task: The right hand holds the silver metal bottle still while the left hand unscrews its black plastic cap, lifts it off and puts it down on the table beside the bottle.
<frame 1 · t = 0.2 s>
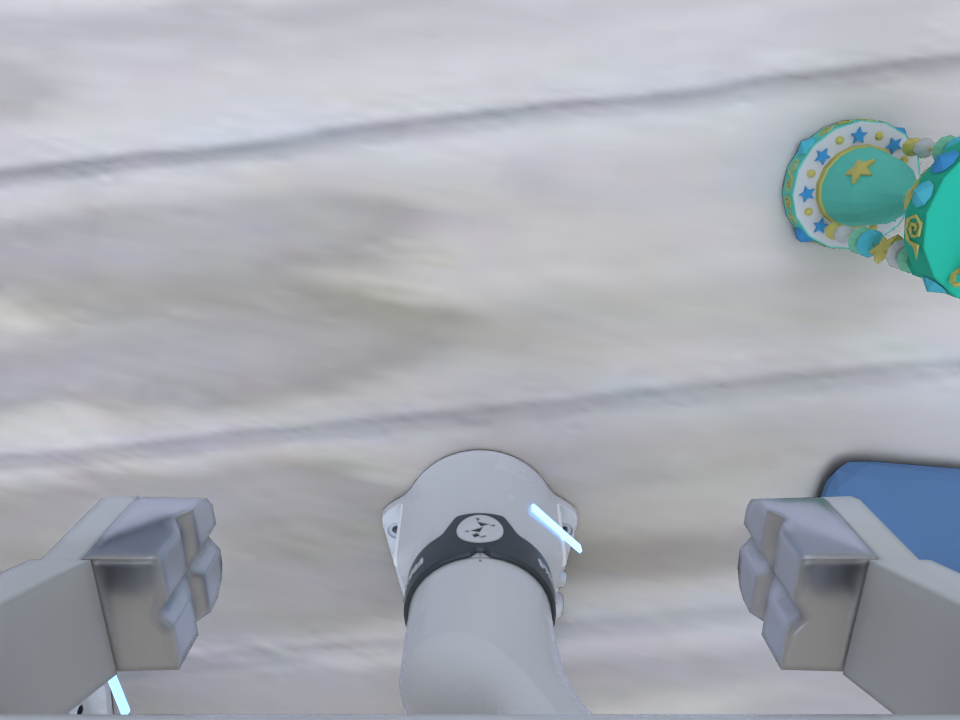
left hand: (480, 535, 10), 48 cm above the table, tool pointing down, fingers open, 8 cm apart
decorative hourglass: (842, 184, 55), on the table
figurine: (884, 549, 67), on the table
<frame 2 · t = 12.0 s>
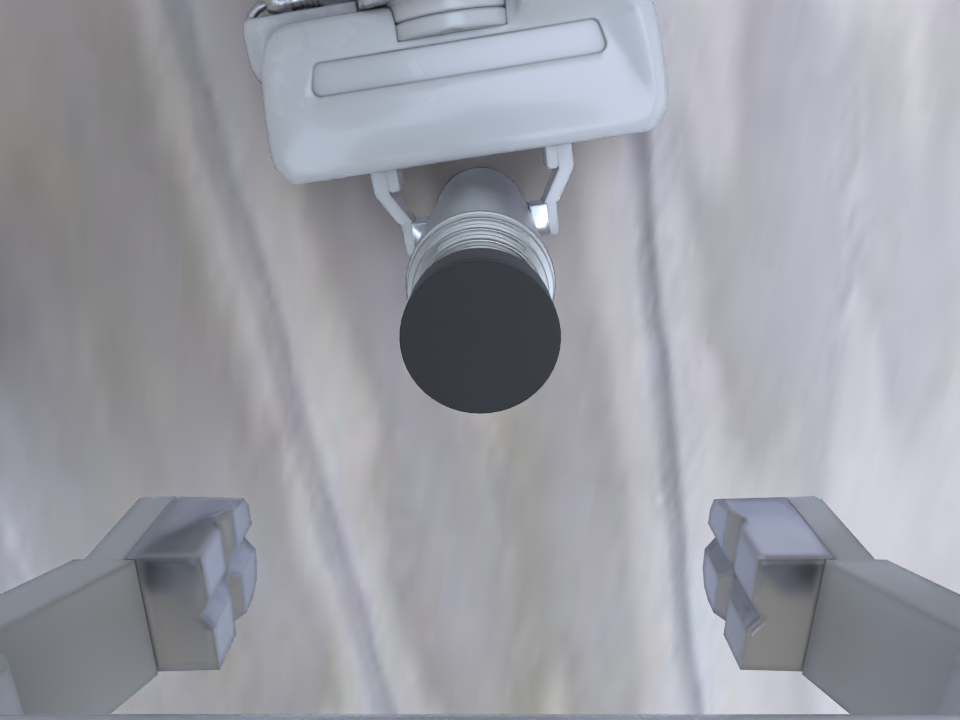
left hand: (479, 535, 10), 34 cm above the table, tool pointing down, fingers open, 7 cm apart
right hand: (483, 243, 38), fingers closed on bottle, 5 cm apart
cap: (480, 337, 19), point 25 cm above the table, screwed on, not yet turned
bottle: (480, 212, 43), on the table, touching right hand
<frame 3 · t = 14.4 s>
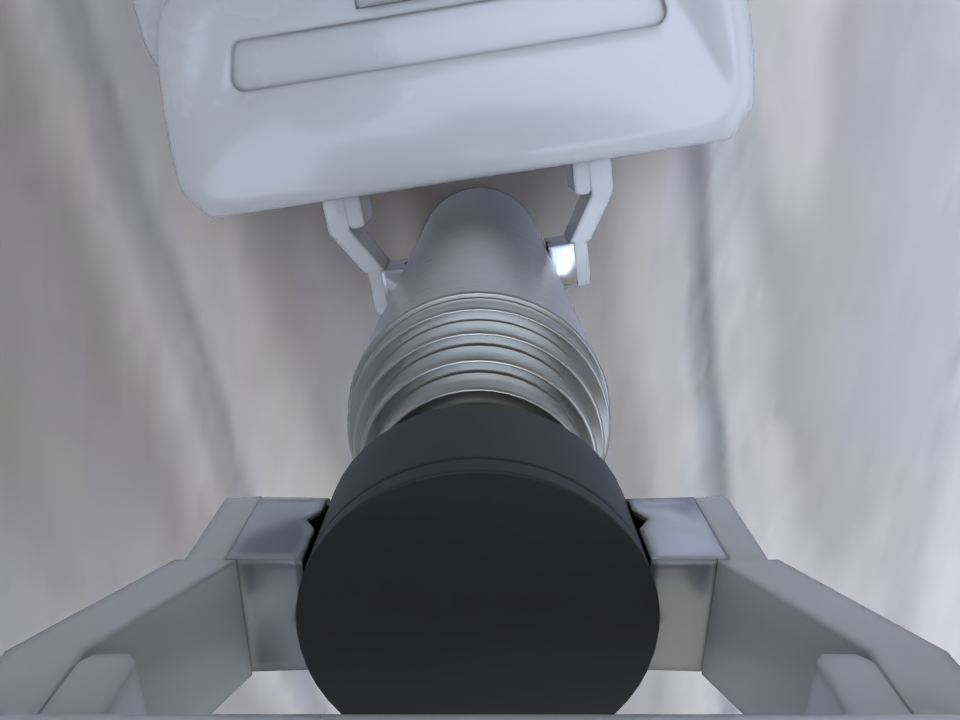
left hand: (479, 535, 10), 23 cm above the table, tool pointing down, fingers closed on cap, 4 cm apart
right hand: (484, 296, 27), fingers closed on bottle, 5 cm apart
cap: (477, 614, 9), point 25 cm above the table, screwed on, not yet turned, touching left hand
bottle: (480, 247, 32), on the table, touching right hand
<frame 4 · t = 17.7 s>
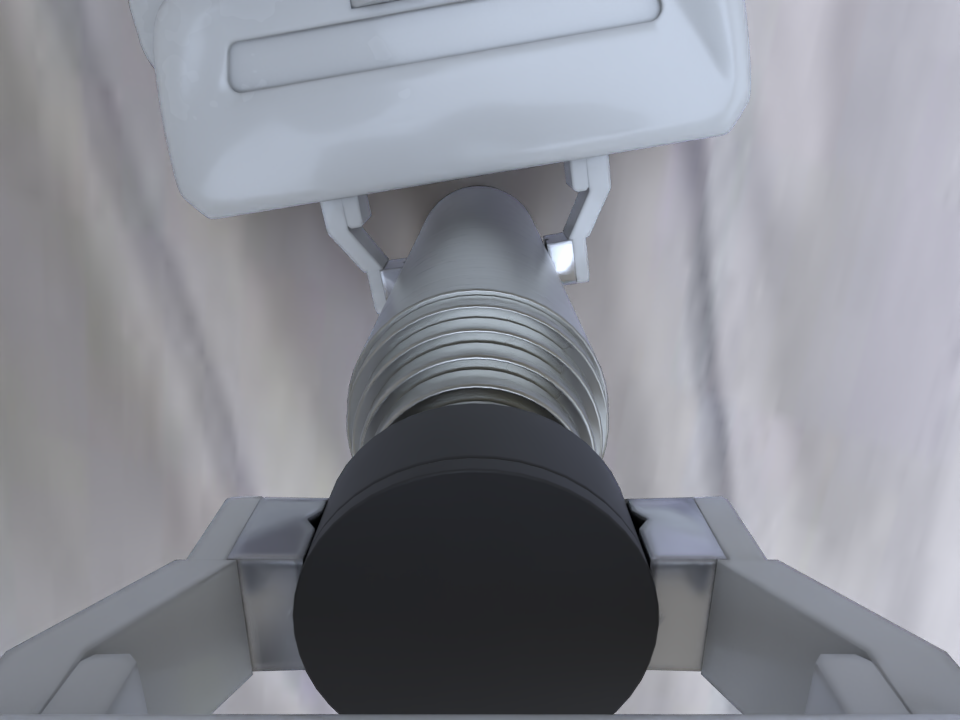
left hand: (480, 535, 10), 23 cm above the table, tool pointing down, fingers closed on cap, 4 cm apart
right hand: (483, 294, 27), fingers closed on bottle, 5 cm apart
cap: (476, 614, 9), point 25 cm above the table, turned 84° so far, risen 0.1 cm, still on its thread, touching left hand
bottle: (479, 246, 32), on the table, touching right hand
when the left hand's fingers open (2 cm above the table, at t = 38.9 s): cap drops 2 cm, point 2 cm above the table.
when the right hand's fingers open (6 cm above the table, at t = 40.1 s): bottle stays where it is, on the table.
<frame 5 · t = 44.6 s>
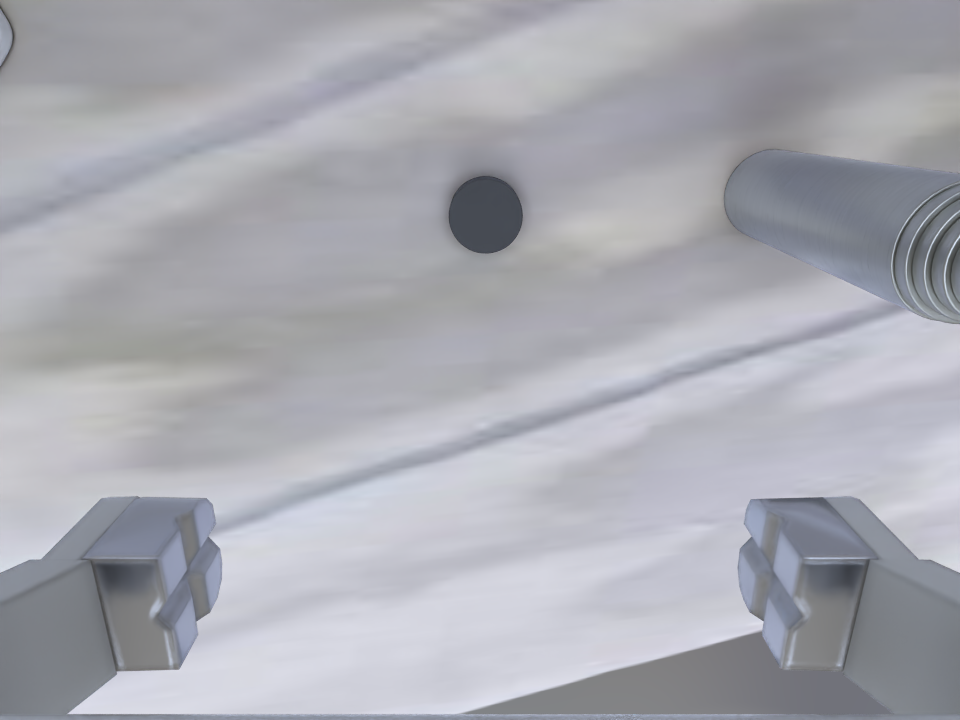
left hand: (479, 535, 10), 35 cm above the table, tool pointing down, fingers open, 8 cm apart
cap: (485, 216, 42), point 2 cm above the table, off its thread
bottle: (767, 194, 43), on the table
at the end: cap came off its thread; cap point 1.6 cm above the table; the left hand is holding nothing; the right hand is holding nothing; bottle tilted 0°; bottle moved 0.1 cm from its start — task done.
